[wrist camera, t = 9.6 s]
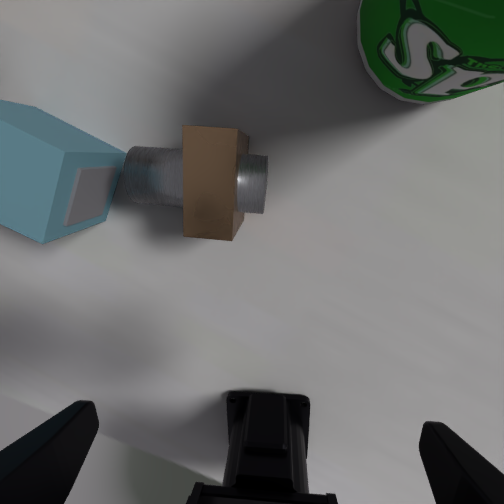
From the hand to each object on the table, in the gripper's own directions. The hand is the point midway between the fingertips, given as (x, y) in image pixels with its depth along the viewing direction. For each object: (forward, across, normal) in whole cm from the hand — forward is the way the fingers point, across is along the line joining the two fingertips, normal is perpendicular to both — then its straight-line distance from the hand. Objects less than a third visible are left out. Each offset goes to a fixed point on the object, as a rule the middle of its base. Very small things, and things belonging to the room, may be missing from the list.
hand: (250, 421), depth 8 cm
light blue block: (+12, +12, -6) cm, 19 cm away
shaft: (+12, +4, -6) cm, 14 cm away
